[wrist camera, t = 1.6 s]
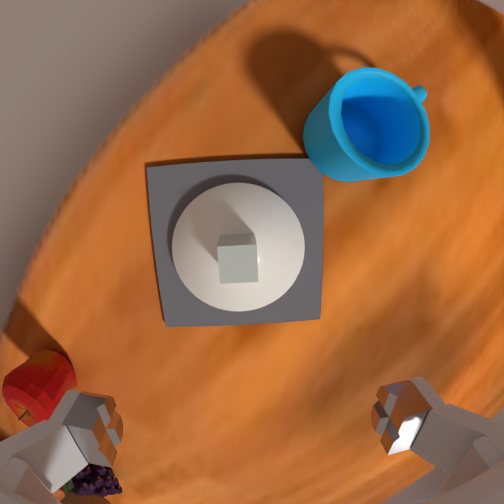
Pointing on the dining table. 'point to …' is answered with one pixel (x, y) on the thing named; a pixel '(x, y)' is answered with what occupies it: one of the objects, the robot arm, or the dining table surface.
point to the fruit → (93, 482)
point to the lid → (238, 247)
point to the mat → (237, 171)
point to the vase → (83, 499)
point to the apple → (38, 386)
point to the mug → (368, 127)
